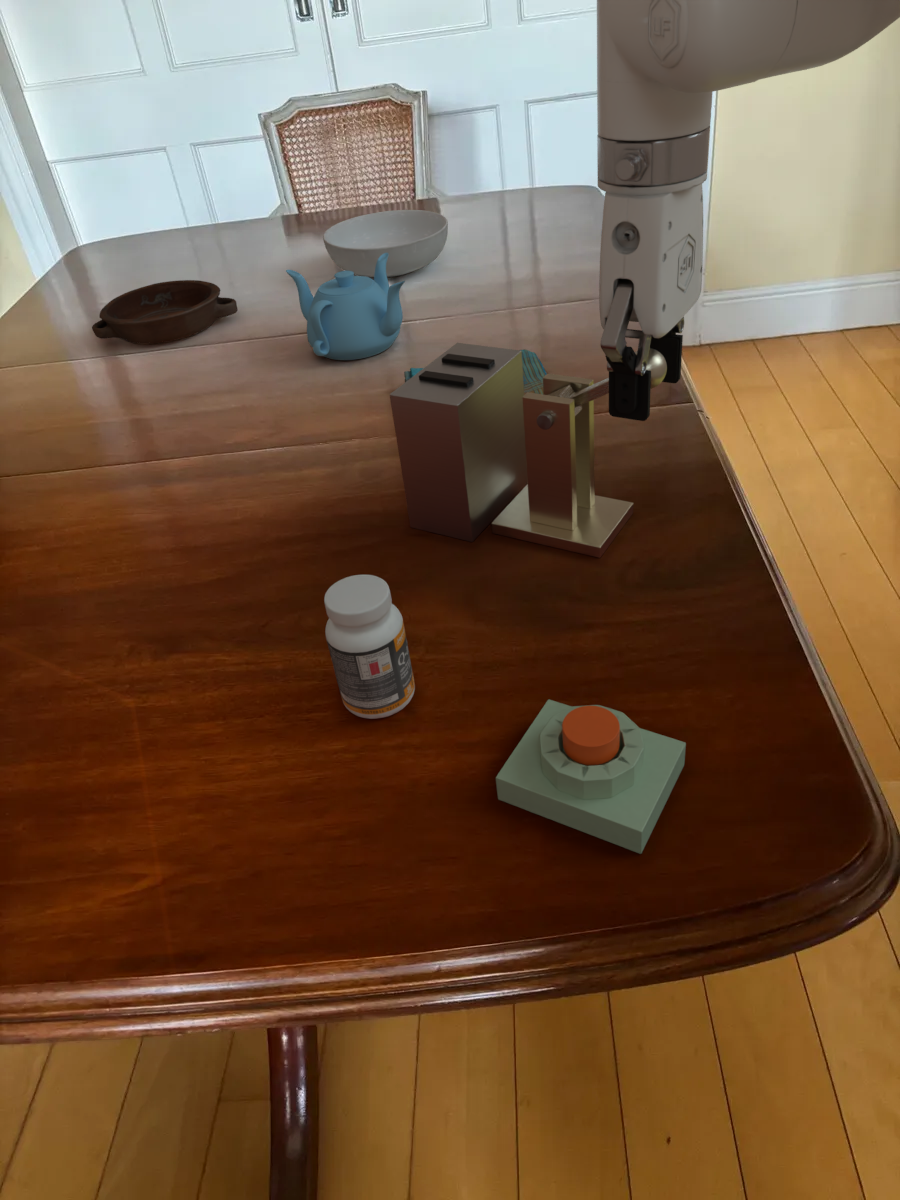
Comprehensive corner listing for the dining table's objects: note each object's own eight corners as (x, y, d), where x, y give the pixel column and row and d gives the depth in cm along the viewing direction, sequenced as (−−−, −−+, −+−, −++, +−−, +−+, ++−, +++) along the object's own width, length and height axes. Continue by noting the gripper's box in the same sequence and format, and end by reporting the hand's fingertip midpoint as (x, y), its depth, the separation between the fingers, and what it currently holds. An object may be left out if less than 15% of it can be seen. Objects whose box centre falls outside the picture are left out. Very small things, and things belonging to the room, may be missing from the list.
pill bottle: (426, 706, 67) (408, 602, 61) (354, 732, 66) (328, 628, 60) (401, 661, 72) (383, 560, 66) (333, 685, 70) (307, 584, 64)
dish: (99, 325, 145) (88, 295, 142) (235, 299, 148) (227, 268, 145) (95, 364, 131) (83, 331, 128) (244, 334, 135) (236, 301, 132)
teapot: (308, 375, 120) (292, 299, 113) (299, 336, 131) (284, 265, 125) (415, 355, 121) (405, 279, 115) (397, 318, 133) (387, 247, 127)
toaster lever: (679, 371, 72) (661, 335, 71) (665, 387, 70) (646, 351, 69) (562, 420, 80) (545, 389, 79) (547, 436, 78) (529, 404, 77)
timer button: (627, 734, 58) (628, 715, 57) (606, 772, 56) (606, 753, 55) (576, 717, 60) (576, 699, 59) (553, 754, 57) (552, 735, 56)
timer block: (684, 765, 60) (687, 723, 58) (641, 854, 55) (642, 812, 53) (549, 720, 65) (547, 680, 62) (497, 799, 60) (493, 758, 57)
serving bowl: (313, 292, 147) (304, 249, 142) (352, 252, 162) (345, 212, 158) (435, 289, 142) (430, 244, 137) (463, 247, 157) (459, 206, 153)
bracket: (633, 513, 85) (636, 376, 77) (600, 558, 80) (599, 417, 71) (529, 492, 90) (521, 362, 82) (492, 533, 85) (479, 399, 76)
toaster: (529, 480, 92) (521, 346, 83) (472, 542, 84) (457, 400, 75) (470, 469, 95) (456, 338, 86) (410, 527, 87) (388, 390, 78)
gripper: (660, 194, 55) (651, 455, 66) (743, 130, 66) (723, 361, 77) (549, 191, 58) (558, 439, 69) (645, 130, 69) (640, 351, 80)
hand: (645, 396), depth 73 cm, fingers open, 6 cm apart
